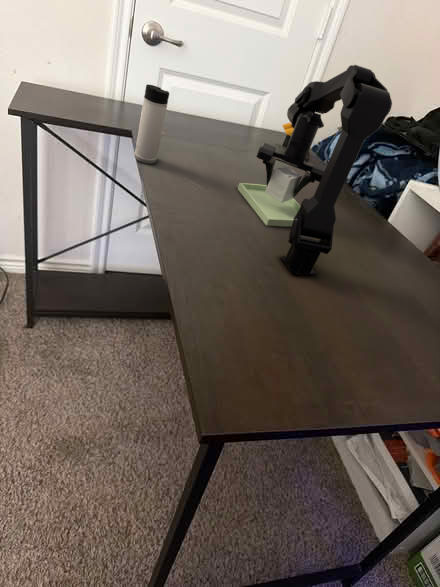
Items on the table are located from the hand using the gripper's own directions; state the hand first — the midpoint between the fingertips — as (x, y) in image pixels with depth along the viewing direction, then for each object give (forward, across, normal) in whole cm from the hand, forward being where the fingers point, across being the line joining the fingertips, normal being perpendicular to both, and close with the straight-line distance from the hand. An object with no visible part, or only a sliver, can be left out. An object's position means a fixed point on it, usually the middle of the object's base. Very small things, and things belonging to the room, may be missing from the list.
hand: (280, 191), depth 119 cm
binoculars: (+5, +2, -52) cm, 53 cm away
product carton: (+2, 0, 0) cm, 2 cm away
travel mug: (+5, +39, +2) cm, 40 cm away
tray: (+5, 0, 0) cm, 5 cm away
